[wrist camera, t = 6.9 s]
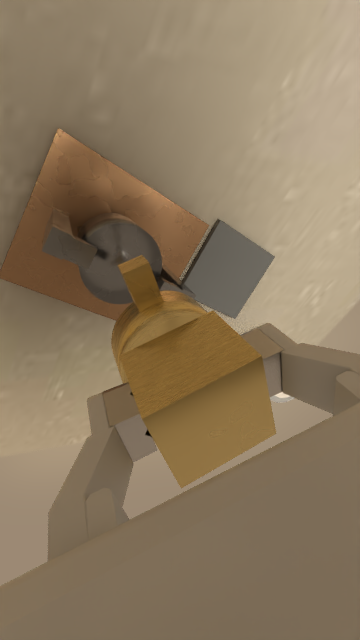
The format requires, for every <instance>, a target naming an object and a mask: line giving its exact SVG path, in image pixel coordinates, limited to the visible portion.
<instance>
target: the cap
mask: <svg viewBox="0 0 360 640" xmlns="http://www.w3.org/2000/svg"><path fill="white" fill-rule="evenodd" d="M118 268H119V270H120V272H121V274H122V277H123V279H124V281H125V284H126V286H127V288H128V290H129V293H130V295H131V297H132V299H133V303H131V304H130V305H129V306H128V307H127V308H126V309H125V310H124V311H123V312H122V314H121V315H120V317H119V318H118V320H117V322H116V324H115V326H114V329H113V333H112V339H111V344H112V351H113V354H114V357H115V360H116V363H117V366H118V369H119V372H120V375H121V378H122V381H123V384H124V383H127V382H129V385H130V387H131V390H132V393H133V396H134V399H135V401H136V404H137V407H138V410H139V413H140V415H141V418H142V420H143V422H144V424H145V426H146V427H147V429H148V431H149V433H150V434H151V436H152V438H153V440H154V441H155V443H156V445H157V447H158V448H159V450H160V452H161V453H162V455H163V457H164V459H165V461H166V462H167V464H168V466H169V468H170V470H171V471H172V473H173V475H174V477H175V478H176V480H177V482H178V484H179V485H180V487H181V488H183V487H184V486H186V485H188V484H190V483H191V482H193V481H195V480H196V479H198V478H200V477H202V476H204V475H205V474H207V473H209V472H210V471H212V470H214V469H216V468H217V467H219V466H221V465H223V464H224V463H226V462H228V461H230V460H231V459H233V458H235V457H236V456H238V455H240V454H242V453H243V452H245V451H247V450H249V449H250V448H252V447H254V446H256V445H257V444H259V443H260V442H262V441H264V440H266V439H268V438H269V437H271V436H273V435H275V434H276V429H275V424H274V419H273V413H272V408H271V402H270V397H269V391H268V386H267V380H266V375H265V370H264V364H263V359H262V356H261V355H260V354H259V353H258V352H257V351H256V350H255V349H254V348H253V347H252V346H251V345H250V344H249V343H247V342H246V341H245V340H244V339H243V338H242V337H241V336H240V335H239V334H238V333H237V332H236V331H235V330H233V329H232V328H231V327H230V326H229V325H228V324H227V323H226V322H225V321H224V320H223V319H222V318H221V317H219V316H218V315H217V314H216V313H215V312H214V311H211V312H209V313H208V312H207V311H206V310H204V309H203V308H202V307H201V306H200V305H199V304H198V303H197V302H196V301H195V300H194V299H193V298H191V297H190V296H188V295H186V294H184V293H181V292H177V291H169V290H164V291H160V290H159V288H158V285H157V282H156V280H155V277H154V274H153V272H152V269H151V266H150V264H149V262H148V261H147V260H146V259H145V258H144V257H143V256H142V255H140V256H138V257H136V258H133V259H131V260H129V261H126V262H124V263H122V264H119V265H118Z"/></svg>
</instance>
